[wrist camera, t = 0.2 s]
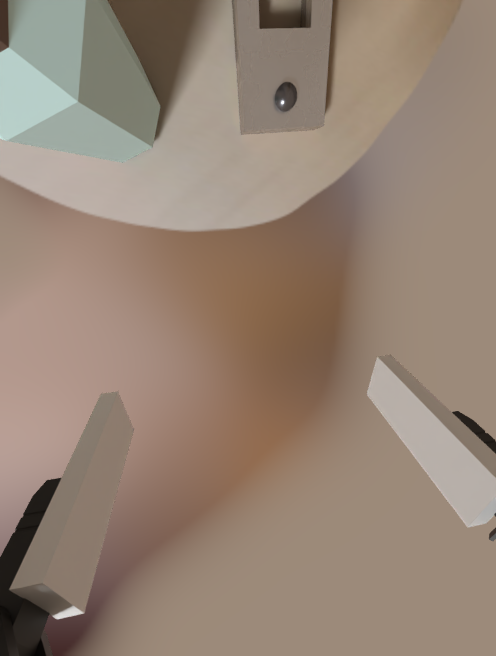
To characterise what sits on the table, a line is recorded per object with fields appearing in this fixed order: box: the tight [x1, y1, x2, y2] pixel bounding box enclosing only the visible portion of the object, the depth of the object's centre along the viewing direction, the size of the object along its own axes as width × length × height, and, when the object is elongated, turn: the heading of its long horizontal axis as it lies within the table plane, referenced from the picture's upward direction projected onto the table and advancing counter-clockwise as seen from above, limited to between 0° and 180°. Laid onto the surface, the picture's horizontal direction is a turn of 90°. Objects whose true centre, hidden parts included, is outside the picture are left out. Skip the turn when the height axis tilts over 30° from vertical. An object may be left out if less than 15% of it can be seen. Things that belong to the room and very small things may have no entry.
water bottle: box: [0, 0, 161, 163], centre depth 17 cm, size 10×10×25 cm
